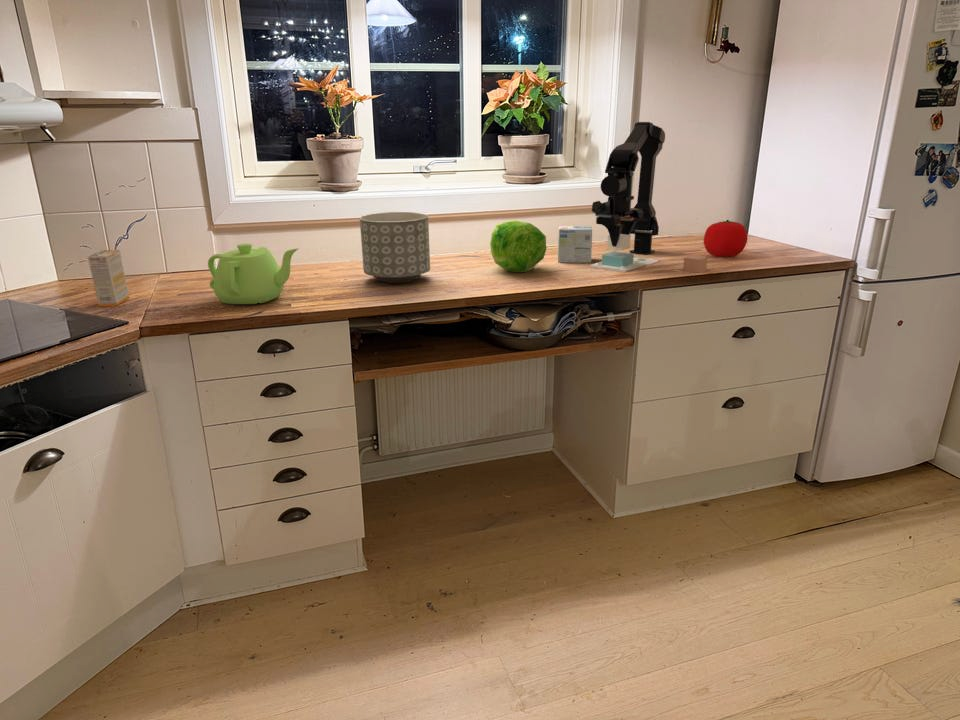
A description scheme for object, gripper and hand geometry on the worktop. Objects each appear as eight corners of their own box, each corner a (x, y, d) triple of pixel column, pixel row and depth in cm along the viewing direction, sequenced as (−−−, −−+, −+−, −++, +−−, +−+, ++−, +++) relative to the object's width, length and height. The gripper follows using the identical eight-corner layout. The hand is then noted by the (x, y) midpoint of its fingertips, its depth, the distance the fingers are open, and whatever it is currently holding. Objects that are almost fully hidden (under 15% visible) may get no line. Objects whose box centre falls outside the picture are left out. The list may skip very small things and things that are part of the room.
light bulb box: (590, 258, 220) (592, 225, 217) (591, 263, 214) (593, 228, 210) (557, 258, 221) (558, 225, 218) (557, 262, 215) (558, 228, 211)
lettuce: (526, 269, 217) (530, 221, 214) (552, 276, 199) (556, 223, 195) (477, 267, 212) (480, 217, 209) (498, 274, 193) (502, 220, 190)
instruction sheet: (630, 257, 221) (630, 256, 221) (658, 261, 215) (659, 260, 215) (619, 261, 216) (619, 260, 216) (648, 265, 210) (648, 264, 210)
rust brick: (690, 268, 206) (691, 254, 205) (706, 270, 203) (707, 256, 202) (683, 270, 203) (684, 257, 201) (699, 273, 200) (700, 259, 198)
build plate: (610, 260, 217) (610, 249, 216) (644, 265, 210) (645, 253, 209) (590, 266, 209) (590, 255, 207) (625, 272, 201) (625, 260, 200)
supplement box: (111, 298, 180) (101, 249, 175) (129, 298, 180) (120, 249, 176) (97, 307, 172) (86, 256, 168) (117, 306, 172) (106, 255, 168)
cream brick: (615, 246, 211) (616, 233, 209) (629, 248, 208) (630, 235, 206) (607, 248, 207) (607, 235, 206) (621, 250, 204) (622, 237, 203)
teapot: (204, 298, 180) (196, 243, 175) (277, 286, 191) (271, 234, 186) (227, 313, 166) (219, 254, 161) (305, 299, 177) (299, 244, 172)
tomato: (717, 261, 214) (721, 224, 210) (695, 253, 226) (698, 218, 222) (753, 259, 217) (758, 222, 213) (729, 251, 229) (733, 216, 225)
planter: (403, 269, 208) (399, 209, 202) (444, 279, 195) (442, 215, 189) (351, 280, 196) (346, 217, 190) (391, 291, 183) (387, 223, 177)
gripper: (613, 188, 213) (610, 237, 219) (581, 194, 200) (579, 246, 205) (645, 190, 207) (642, 241, 212) (615, 196, 193) (612, 251, 199)
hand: (618, 245), depth 207 cm, fingers closed on cream brick, 5 cm apart
